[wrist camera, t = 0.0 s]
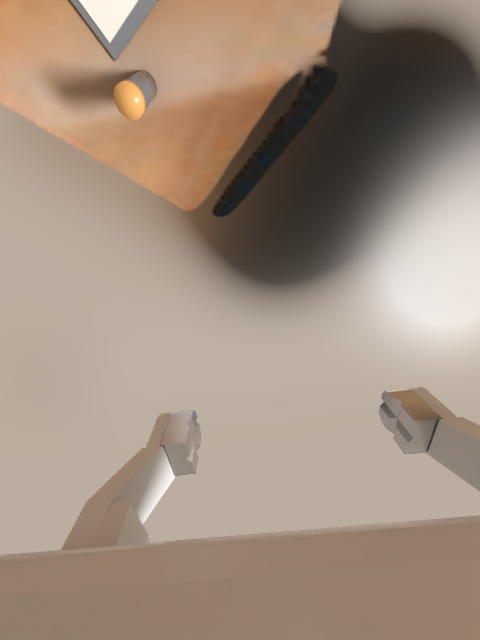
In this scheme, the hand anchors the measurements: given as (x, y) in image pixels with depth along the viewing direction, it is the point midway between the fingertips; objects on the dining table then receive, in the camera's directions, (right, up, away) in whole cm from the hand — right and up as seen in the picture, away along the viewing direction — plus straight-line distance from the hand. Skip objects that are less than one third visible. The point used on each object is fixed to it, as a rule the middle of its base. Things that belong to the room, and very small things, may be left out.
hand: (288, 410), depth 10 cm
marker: (-18, +45, +29) cm, 56 cm away
